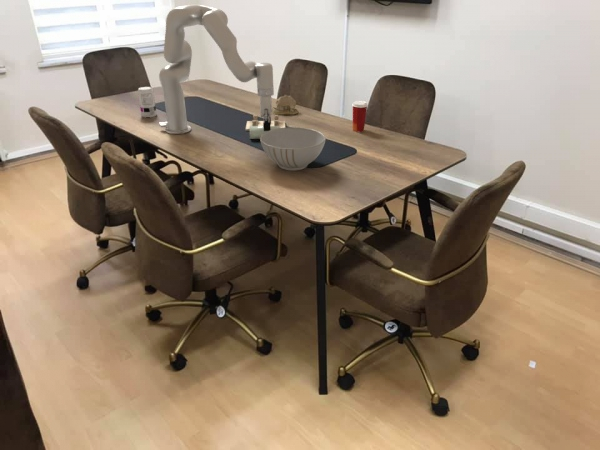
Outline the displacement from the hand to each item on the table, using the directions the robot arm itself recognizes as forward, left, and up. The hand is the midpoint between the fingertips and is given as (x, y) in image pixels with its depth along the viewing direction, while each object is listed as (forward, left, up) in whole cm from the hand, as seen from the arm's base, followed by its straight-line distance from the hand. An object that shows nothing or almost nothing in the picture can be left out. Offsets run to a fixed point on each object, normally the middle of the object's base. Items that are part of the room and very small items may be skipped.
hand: (267, 127), depth 222 cm
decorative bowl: (+12, -34, -6) cm, 36 cm away
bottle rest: (-1, +18, -5) cm, 19 cm away
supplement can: (-67, +39, -6) cm, 77 cm away
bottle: (+1, 0, -5) cm, 6 cm away
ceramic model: (+9, +44, -6) cm, 45 cm away
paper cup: (+46, +11, -6) cm, 47 cm away
